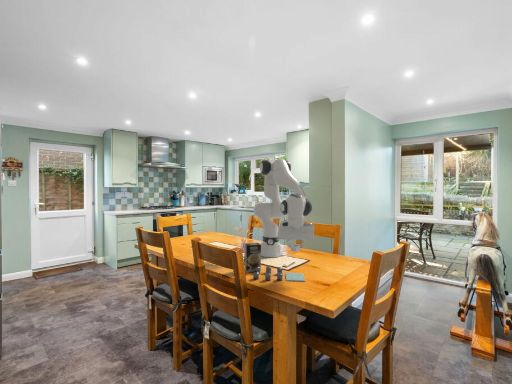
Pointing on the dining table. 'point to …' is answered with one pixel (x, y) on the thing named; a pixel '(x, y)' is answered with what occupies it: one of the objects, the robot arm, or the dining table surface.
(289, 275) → the board
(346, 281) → the dining table surface
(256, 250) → the coffee box
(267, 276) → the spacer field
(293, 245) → the grey hexagonal block
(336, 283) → the dining table surface
